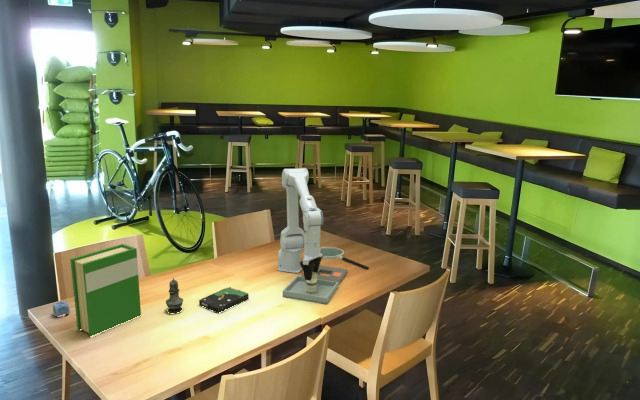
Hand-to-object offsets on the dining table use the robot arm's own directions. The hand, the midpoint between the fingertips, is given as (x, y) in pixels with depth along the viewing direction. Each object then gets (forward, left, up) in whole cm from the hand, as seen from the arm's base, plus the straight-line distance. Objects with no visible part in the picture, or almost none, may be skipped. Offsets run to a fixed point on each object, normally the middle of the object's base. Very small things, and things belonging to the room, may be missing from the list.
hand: (311, 276), depth 179 cm
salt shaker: (-39, -31, -7) cm, 50 cm away
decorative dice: (-72, -47, -7) cm, 86 cm away
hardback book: (-53, -46, -7) cm, 70 cm away
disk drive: (-26, -19, -7) cm, 33 cm away
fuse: (0, 0, -6) cm, 6 cm away
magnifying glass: (+2, +38, -8) cm, 39 cm away
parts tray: (0, 0, -7) cm, 7 cm away
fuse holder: (0, +17, -7) cm, 18 cm away
